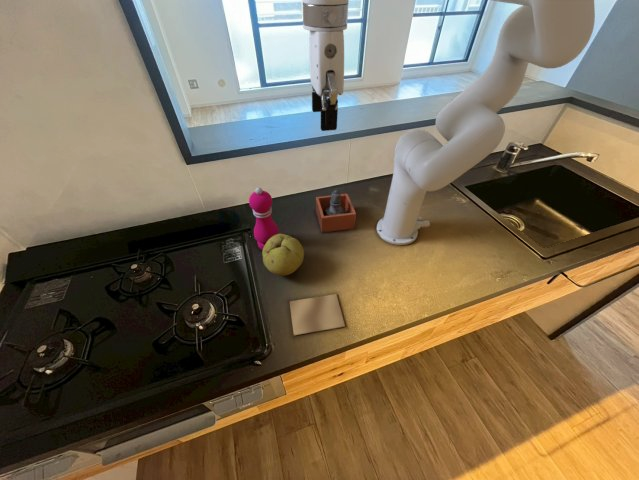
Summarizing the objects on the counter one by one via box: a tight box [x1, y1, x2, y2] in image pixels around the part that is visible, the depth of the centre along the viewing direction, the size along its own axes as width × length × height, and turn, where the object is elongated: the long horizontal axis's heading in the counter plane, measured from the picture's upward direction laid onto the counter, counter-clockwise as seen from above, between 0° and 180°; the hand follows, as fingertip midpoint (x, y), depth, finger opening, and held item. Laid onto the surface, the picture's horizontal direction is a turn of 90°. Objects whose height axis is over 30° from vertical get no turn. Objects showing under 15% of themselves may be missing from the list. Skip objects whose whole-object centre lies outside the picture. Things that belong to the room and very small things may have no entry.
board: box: [289, 293, 346, 337], centre depth 67 cm, size 12×9×1 cm
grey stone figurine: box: [325, 188, 345, 216], centre depth 87 cm, size 6×6×12 cm
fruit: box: [261, 233, 305, 277], centre depth 74 cm, size 11×12×10 cm
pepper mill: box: [248, 186, 280, 251], centre depth 77 cm, size 7×7×20 cm
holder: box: [315, 193, 357, 233], centre depth 90 cm, size 11×11×6 cm
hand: (323, 120), depth 59 cm, fingers open, 9 cm apart
